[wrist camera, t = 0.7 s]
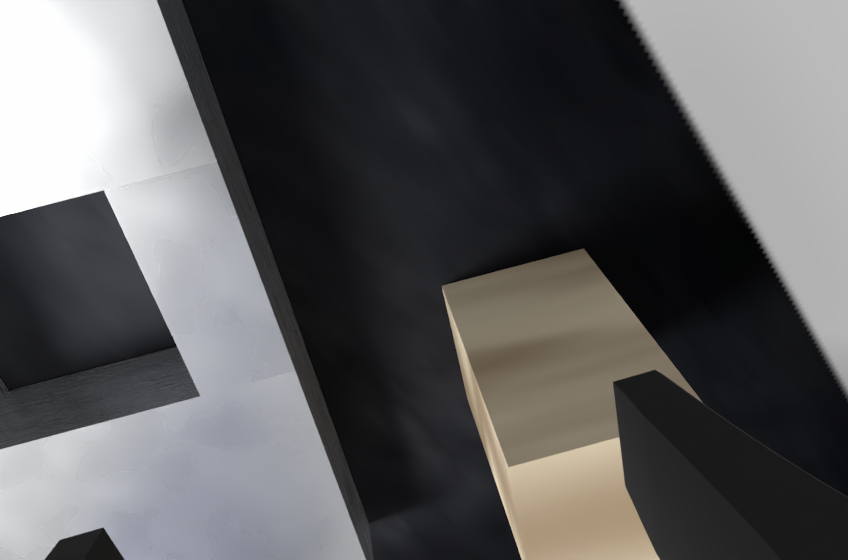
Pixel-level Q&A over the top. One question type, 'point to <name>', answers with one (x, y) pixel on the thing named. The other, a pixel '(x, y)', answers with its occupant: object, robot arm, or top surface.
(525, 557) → the peg
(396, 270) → the top surface
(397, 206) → the top surface
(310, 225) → the top surface
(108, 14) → the board with rectangular recess
